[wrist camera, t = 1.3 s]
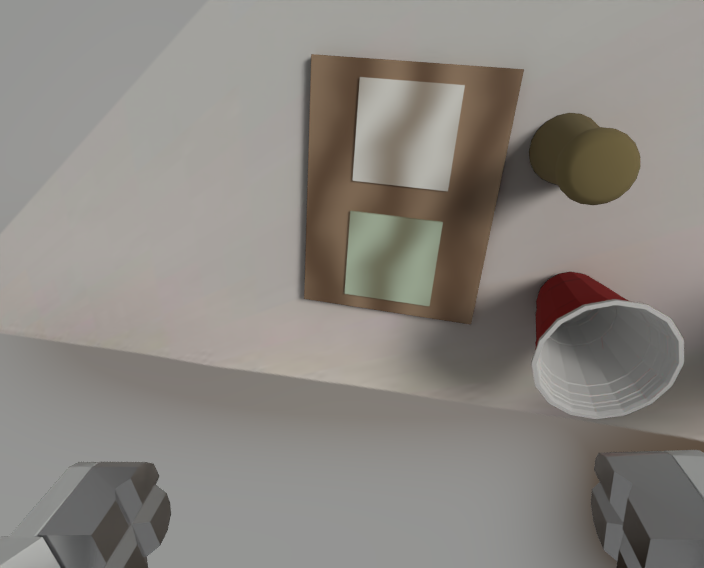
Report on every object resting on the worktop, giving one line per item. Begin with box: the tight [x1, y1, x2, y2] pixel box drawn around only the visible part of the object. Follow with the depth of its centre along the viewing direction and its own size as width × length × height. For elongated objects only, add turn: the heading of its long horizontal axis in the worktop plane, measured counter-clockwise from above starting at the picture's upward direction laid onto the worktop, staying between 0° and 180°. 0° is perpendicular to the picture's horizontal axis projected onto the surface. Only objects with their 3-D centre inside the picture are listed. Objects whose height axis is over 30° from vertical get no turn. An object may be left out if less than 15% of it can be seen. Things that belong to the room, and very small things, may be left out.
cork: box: [529, 113, 640, 205], centre depth 35 cm, size 6×6×11 cm
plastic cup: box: [532, 272, 684, 419], centre depth 39 cm, size 11×11×12 cm
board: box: [304, 54, 524, 324], centre depth 44 cm, size 18×24×1 cm
